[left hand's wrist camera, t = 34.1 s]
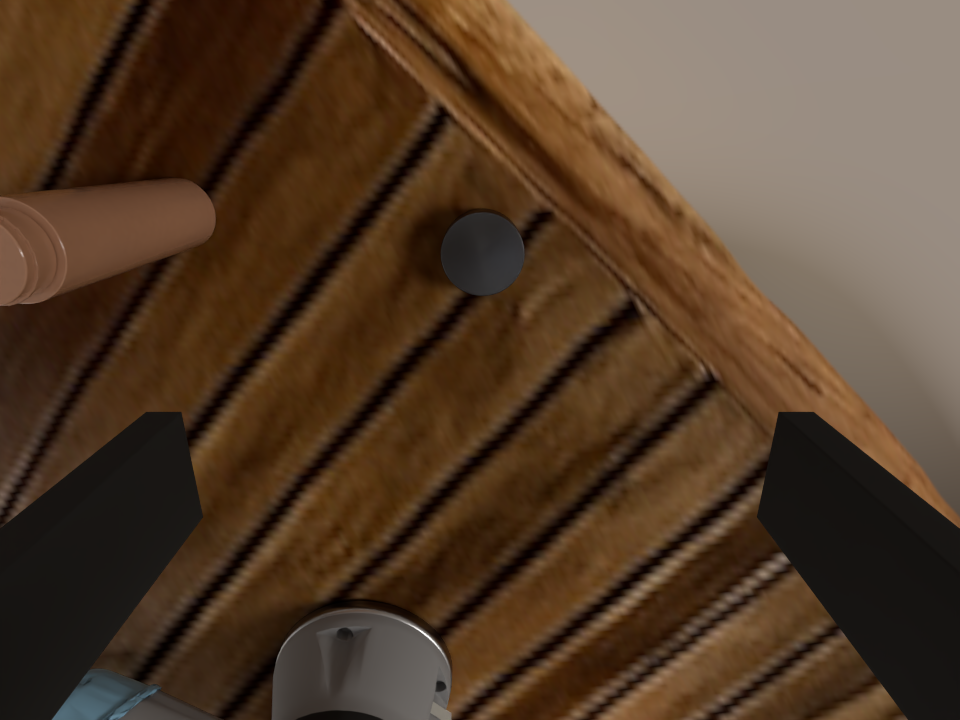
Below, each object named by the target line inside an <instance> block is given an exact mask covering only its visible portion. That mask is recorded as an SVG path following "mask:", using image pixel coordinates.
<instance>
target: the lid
mask: <svg viewBox="0 0 960 720" xmlns="http://www.w3.org/2000/svg"><path fill="white" fill-rule="evenodd" d="M441 261H442V266H443V269H444V271H445V273H446V275H447V277H448V278H449V279H450V281H451V282H452V283H453V284H454V285H455V286H456V287H458V288H459V289H461V290H462V291H464V292H466V293H469V294H473V295H479V296H487V295H493V294H496V293H499V292H501V291H503V290H504V289H506V288H507V287H509V286H510V285H511V284H512V283H513V282H514V281H515V280H516V278H517V277H518V275H519V273H520V272H521V269H522V267H523V263H524V245H523V241H522V238H521V236H520V234H519V232H518V230H517V228H516V226H515V225H514V224H513V222H512V221H511V220H510V219H509V218H507V217H506V216H505V215H503V214H501V213H499V212H497V211H494V210H490V209H475V210H471V211H468V212H466V213H464V214H462V215H461V216H459V217H458V218H457V219H455V220H454V221H453V223H452V224H451V225H450V227H449V228H448V230H447V232H446V234H445V237H444V239H443V242H442V247H441Z"/></svg>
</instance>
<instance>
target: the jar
mask: <svg viewBox="0 0 960 720" xmlns="http://www.w3.org/2000/svg"><path fill="white" fill-rule="evenodd" d="M215 222H216V216H215V210H214V207H213V204H212V202H211V200H210V198H209V197H208V195H207V194H206V193H205V192H204V191H203V190H202V189H201V188H200V187H199V186H198V185H196V184H194V183H193V182H191V181H189V180H186V179H182V178H163V179H154V180H144V181H134V182H125V183H115V184H106V185H96V186H86V187H77V188H67V189H58V190H48V191H38V192H29V193H19V194H9V195H0V306H10V305H14V304H18V303H23V304H33V303H39V302H42V301H45V300H48V299H51V298H53V297H56V296H59V295H62V294H65V293H67V292H70V291H73V290H76V289H79V288H81V287H84V286H87V285H90V284H93V283H95V282H98V281H101V280H104V279H107V278H110V277H112V276H115V275H118V274H121V273H124V272H126V271H129V270H132V269H135V268H138V267H140V266H143V265H146V264H149V263H152V262H154V261H157V260H160V259H163V258H166V257H168V256H171V255H174V254H177V253H180V252H183V251H185V250H188V249H191V248H194V247H197V246H199V245H201V244H203V243H204V242H206V241H207V240H208V239H209V238H210V236H211V235H212V233H213V231H214V228H215Z"/></svg>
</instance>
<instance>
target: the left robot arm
mask: <svg viewBox="0 0 960 720" xmlns="http://www.w3.org/2000/svg"><path fill="white" fill-rule="evenodd" d="M202 518H203V515H202V510H201V505H200V500H199V495H198V491H197V486H196V481H195V476H194V471H193V466H192V462H191V457H190V452H189V447H188V442H187V437H186V433H185V428H184V423H183V418H182V413H181V412H146V413H144V414H143V415H142V416H141V417H139V418H138V419H137V420H136V421H134V422H133V423H132V424H131V425H129V426H128V427H127V428H126V429H124V430H123V431H122V432H121V433H119V434H118V435H117V436H116V437H114V438H113V439H112V440H111V441H109V442H108V443H107V444H106V445H104V446H103V447H102V448H101V449H99V450H98V451H97V452H96V453H94V454H93V455H92V456H91V457H89V458H88V459H87V460H86V461H84V462H83V463H82V464H81V465H79V466H78V467H77V468H76V469H74V470H73V471H72V472H71V473H69V474H68V475H67V476H66V477H64V478H63V479H62V480H61V481H59V482H58V483H57V484H56V485H54V486H53V487H52V488H51V489H49V490H48V491H47V492H46V493H44V494H43V495H42V496H41V497H39V498H38V499H37V500H36V501H34V502H33V503H32V504H31V505H29V506H28V507H27V508H26V509H24V510H23V511H22V512H21V513H19V514H18V515H17V516H16V517H14V518H13V519H12V520H11V521H9V522H8V523H7V524H6V525H4V526H3V527H2V528H0V720H222V719H220V718H218V717H216V716H214V715H212V714H210V713H207V712H205V711H203V710H201V709H199V708H197V707H194V706H192V705H190V704H188V703H186V702H184V701H182V700H179V699H177V698H175V697H173V696H171V695H169V694H166V693H164V692H162V691H160V690H161V687H160V686H159V685H156V684H153V685H150V686H149V685H146V684H144V683H141V682H139V681H136V680H133V679H131V678H128V677H126V676H123V675H121V674H118V673H115V672H113V671H110V670H107V669H90V668H91V667H92V665H93V664H94V663H95V661H96V660H97V659H98V657H99V656H100V654H101V653H102V652H103V650H104V649H105V648H106V646H107V645H108V644H109V642H110V641H111V640H112V638H113V637H114V636H115V634H116V633H117V632H118V630H119V629H120V628H121V626H122V625H123V624H124V622H125V621H126V620H127V618H128V617H129V616H130V614H131V613H132V612H133V610H134V609H135V608H136V606H137V605H138V604H139V602H140V601H141V600H142V598H143V597H144V595H145V594H146V593H147V591H148V590H149V589H150V587H151V586H152V585H153V583H154V582H155V581H156V579H157V578H158V577H159V575H160V574H161V573H162V571H163V570H164V569H165V567H166V566H167V565H168V563H169V562H170V561H171V559H172V558H173V557H174V555H175V554H176V553H177V551H178V550H179V549H180V547H181V546H182V545H183V543H184V542H185V540H186V539H187V538H188V536H189V535H190V534H191V532H192V531H193V530H194V528H195V527H196V526H197V524H198V523H199V522H200V520H201V519H202ZM757 518H758V519H759V520H760V522H761V523H762V524H763V526H764V527H765V528H766V530H767V531H768V532H769V534H770V535H771V536H772V538H773V539H774V541H775V542H776V543H777V545H778V546H779V547H780V549H781V550H782V551H783V553H784V554H785V555H786V557H787V558H788V559H789V561H790V562H791V563H792V565H793V566H794V567H795V569H796V570H797V571H798V573H799V574H800V575H801V577H802V578H803V579H804V581H805V582H806V583H807V585H808V586H809V587H810V589H811V590H812V591H813V593H814V594H815V595H816V597H817V598H818V600H819V601H820V602H821V604H822V605H823V606H824V608H825V609H826V610H827V612H828V613H829V614H830V616H831V617H832V618H833V620H834V621H835V622H836V624H837V625H838V626H839V628H840V629H841V630H842V632H843V633H844V634H845V636H846V637H847V638H848V640H849V641H850V642H851V644H852V645H853V646H854V648H855V649H856V650H857V652H858V653H859V654H860V656H861V657H862V659H863V660H864V661H865V663H866V664H867V665H868V667H869V668H870V669H871V671H872V672H873V673H874V675H875V676H876V677H877V679H878V680H879V681H880V683H881V684H882V685H883V687H884V688H885V689H886V691H887V692H888V693H889V695H890V696H891V697H892V699H893V700H894V701H895V703H896V704H897V705H898V707H899V708H900V709H901V711H902V712H903V713H904V715H905V716H906V718H907V719H908V720H960V528H958V527H957V526H956V525H954V524H953V523H952V522H951V521H949V520H948V519H947V518H946V517H944V516H943V515H942V514H941V513H939V512H938V511H937V510H936V509H934V508H933V507H932V506H931V505H929V504H928V503H927V502H926V501H924V500H923V499H922V498H921V497H919V496H918V495H917V494H916V493H914V492H913V491H912V490H911V489H909V488H908V487H907V486H906V485H904V484H903V483H902V482H901V481H899V480H898V479H897V478H896V477H894V476H893V475H892V474H891V473H889V472H888V471H887V470H886V469H884V468H883V467H882V466H881V465H879V464H878V463H877V462H876V461H874V460H873V459H872V458H871V457H869V456H868V455H867V454H866V453H864V452H863V451H862V450H861V449H859V448H858V447H857V446H856V445H854V444H853V443H852V442H851V441H849V440H848V439H847V438H846V437H844V436H843V435H842V434H841V433H839V432H838V431H837V430H836V429H834V428H833V427H832V426H831V425H829V424H828V423H827V422H826V421H824V420H823V419H822V418H821V417H819V416H818V415H817V414H816V413H814V412H779V413H778V418H777V423H776V428H775V433H774V437H773V442H772V447H771V452H770V457H769V462H768V466H767V471H766V476H765V481H764V486H763V491H762V495H761V500H760V505H759V510H758V515H757ZM89 669H90V670H89ZM451 684H452V661H451V657H450V653H449V651H448V648H447V646H446V644H445V643H444V641H443V640H442V638H441V637H440V635H439V634H438V633H437V632H436V631H435V630H434V629H433V628H432V627H431V626H430V625H429V624H428V623H426V622H425V621H424V620H422V619H421V618H419V617H418V616H416V615H414V614H412V613H410V612H408V611H406V610H404V609H401V608H399V607H396V606H393V605H389V604H385V603H379V602H372V601H348V602H341V603H336V604H331V605H328V606H325V607H322V608H320V609H318V610H315V611H313V612H312V613H310V614H308V615H307V616H305V617H304V618H302V619H301V620H300V621H299V622H297V623H296V624H295V625H294V626H293V628H292V629H291V630H290V631H289V633H288V634H287V636H286V638H285V640H284V642H283V644H282V647H281V649H280V652H279V654H278V657H277V661H276V665H275V670H274V675H273V699H272V720H451V713H450V712H449V711H447V710H446V707H447V704H448V700H449V696H450V692H451Z"/></svg>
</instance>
